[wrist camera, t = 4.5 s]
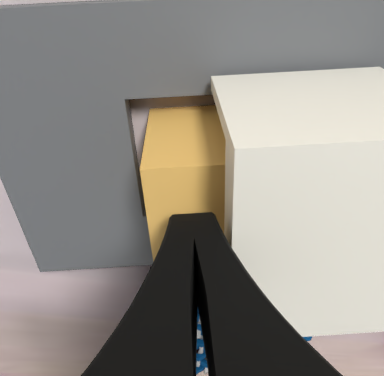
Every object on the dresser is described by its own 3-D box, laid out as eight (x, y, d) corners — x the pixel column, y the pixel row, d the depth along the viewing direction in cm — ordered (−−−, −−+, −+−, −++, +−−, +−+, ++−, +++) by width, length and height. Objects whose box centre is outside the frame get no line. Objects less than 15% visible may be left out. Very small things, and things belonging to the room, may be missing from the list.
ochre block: (159, 188, 16) (153, 265, 12) (149, 108, 14) (139, 169, 10) (242, 183, 16) (265, 259, 12) (246, 102, 14) (276, 161, 10)
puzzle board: (46, 257, 18) (40, 271, 18) (-53, 8, 12) (-70, 12, 11) (375, 237, 19) (385, 250, 18) (464, -19, 12) (486, -18, 11)
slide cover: (212, 231, 16) (228, 341, 11) (211, 75, 12) (234, 148, 7) (339, 223, 16) (406, 330, 11) (379, 66, 12) (509, 132, 7)
